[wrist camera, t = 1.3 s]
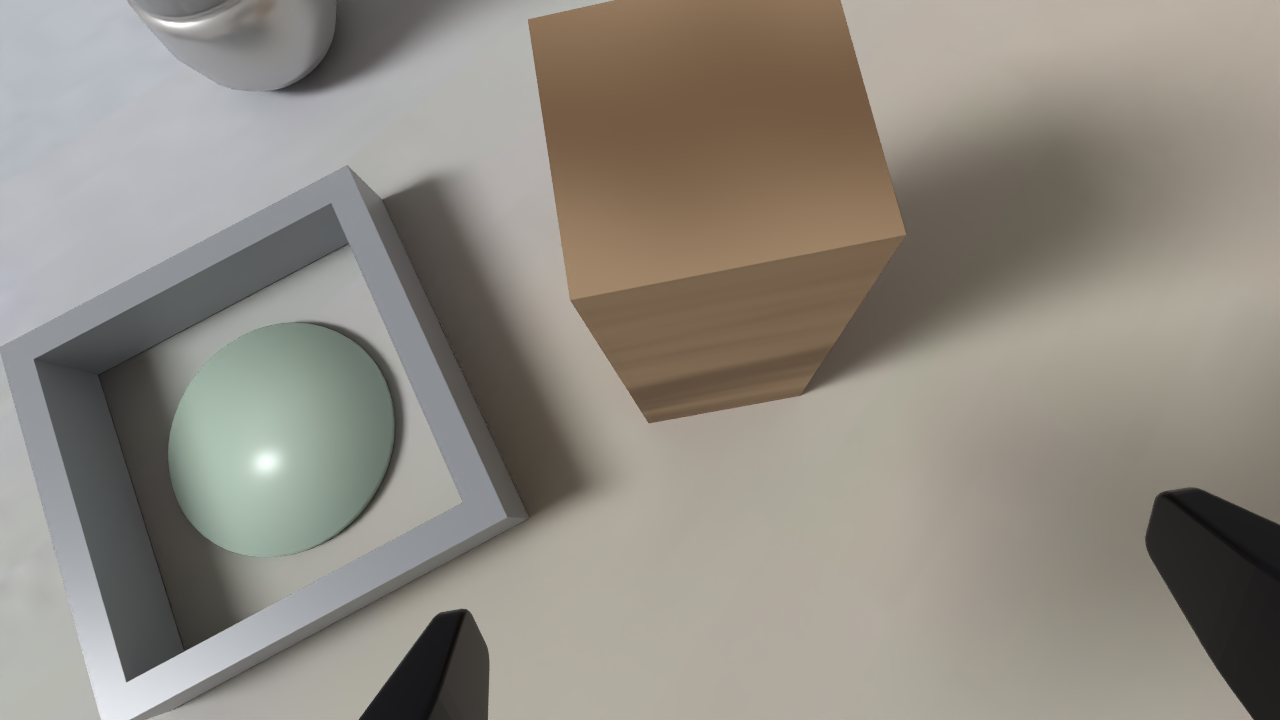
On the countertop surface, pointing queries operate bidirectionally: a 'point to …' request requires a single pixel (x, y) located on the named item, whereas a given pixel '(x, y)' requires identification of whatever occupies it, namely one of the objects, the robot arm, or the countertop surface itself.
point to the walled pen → (245, 445)
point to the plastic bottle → (243, 37)
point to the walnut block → (713, 191)
